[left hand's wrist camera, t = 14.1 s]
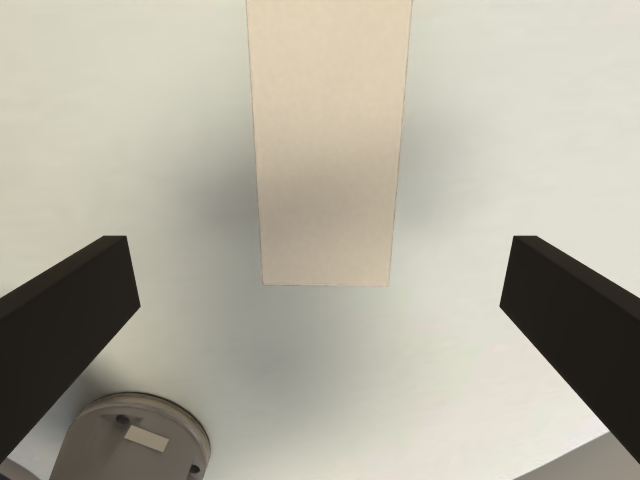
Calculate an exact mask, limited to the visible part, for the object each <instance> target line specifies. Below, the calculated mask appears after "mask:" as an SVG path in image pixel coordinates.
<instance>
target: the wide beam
mask: <svg viewBox="0 0 640 480" xmlns="http://www.w3.org/2000/svg"><path fill="white" fill-rule="evenodd" d="M412 1H413V0H246V10H247V27H248V43H249V60H250V77H251V94H252V111H253V127H254V144H255V161H256V178H257V194H258V211H259V228H260V245H261V262H262V278H263V285H305V286H389V277H390V265H391V253H392V241H393V229H394V217H395V205H396V193H397V181H398V169H399V157H400V145H401V133H402V121H403V109H404V97H405V85H406V73H407V61H408V49H409V37H410V25H411V13H412Z"/></svg>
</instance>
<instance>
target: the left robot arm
mask: <svg viewBox="0 0 640 480" xmlns="http://www.w3.org/2000/svg"><path fill="white" fill-rule="evenodd" d="M140 307H141V306H140V301H139V296H138V291H137V286H136V281H135V276H134V271H133V266H132V261H131V256H130V251H129V246H128V241H127V237H126V236H102V237H101V238H99V239H98V240H96V241H94V242H93V243H91V244H89V245H88V246H86V247H84V248H83V249H81V250H79V251H78V252H76V253H74V254H73V255H71V256H69V257H68V258H66V259H64V260H63V261H61V262H59V263H58V264H56V265H54V266H53V267H51V268H50V269H48V270H46V271H45V272H43V273H41V274H40V275H38V276H36V277H35V278H33V279H31V280H30V281H28V282H26V283H25V284H23V285H21V286H20V287H18V288H16V289H15V290H13V291H11V292H10V293H8V294H7V295H5V296H3V297H2V298H0V464H1V463H2V462H3V461H4V460H5V458H6V457H7V456H8V455H9V454H10V453H11V452H12V451H13V449H14V448H15V447H16V446H17V445H18V444H19V443H20V442H21V440H22V439H23V438H24V437H25V436H26V435H27V434H28V433H29V431H30V430H31V429H32V428H33V427H34V426H35V425H36V424H37V422H38V421H39V420H40V419H41V418H42V417H43V416H44V415H45V413H46V412H47V411H48V410H49V409H50V408H51V407H52V406H53V404H54V403H55V402H56V401H57V400H58V399H59V398H60V397H61V395H62V394H63V393H64V392H65V391H66V390H67V389H68V388H69V387H70V385H71V384H72V383H73V382H74V381H75V380H76V379H77V378H78V376H79V375H80V374H81V373H82V372H83V371H84V370H85V369H86V367H87V366H88V365H89V364H90V363H91V362H92V361H93V360H94V358H95V357H96V356H97V355H98V354H99V353H100V352H101V351H102V349H103V348H104V347H105V346H106V345H107V344H108V343H109V342H110V340H111V339H112V338H113V337H114V336H115V335H116V334H117V333H118V331H119V330H120V329H121V328H122V327H123V326H124V325H125V324H126V322H127V321H128V320H129V319H130V318H131V317H132V316H133V315H134V313H135V312H136V311H137V310H138V309H139V308H140ZM499 307H500V308H501V309H502V310H503V311H504V312H505V313H506V315H507V316H508V317H509V318H510V319H511V320H512V321H513V322H514V324H515V325H516V326H517V327H518V328H519V329H520V330H521V331H522V333H523V334H524V335H525V336H526V337H527V338H528V339H529V340H530V342H531V343H532V344H533V345H534V346H535V347H536V348H537V349H538V351H539V352H540V353H541V354H542V355H543V356H544V357H545V358H546V360H547V361H548V362H549V363H550V364H551V365H552V366H553V367H554V369H555V370H556V371H557V372H558V373H559V374H560V375H561V376H562V378H563V379H564V380H565V381H566V382H567V383H568V384H569V385H570V387H571V388H572V389H573V390H574V391H575V392H576V393H577V394H578V395H579V397H580V398H581V399H582V400H583V401H584V402H585V403H586V404H587V406H588V407H589V408H590V409H591V410H592V411H593V412H594V413H595V415H596V416H597V417H598V418H599V419H600V420H601V421H602V422H603V424H604V425H605V426H606V427H607V428H608V429H609V430H610V431H611V433H612V434H613V435H614V436H615V437H616V438H617V439H618V440H619V442H620V443H621V444H622V445H623V446H624V447H625V448H626V449H627V451H628V452H629V453H630V454H631V455H632V456H633V457H634V458H635V460H636V461H637V462H638V463H639V464H640V298H638V297H637V296H635V295H633V294H632V293H630V292H629V291H627V290H625V289H624V288H622V287H620V286H619V285H617V284H615V283H614V282H612V281H610V280H609V279H607V278H605V277H604V276H602V275H600V274H599V273H597V272H595V271H594V270H592V269H590V268H589V267H587V266H586V265H584V264H582V263H581V262H579V261H577V260H576V259H574V258H572V257H571V256H569V255H567V254H566V253H564V252H562V251H561V250H559V249H557V248H556V247H554V246H552V245H551V244H549V243H547V242H546V241H544V240H542V239H541V238H539V237H538V236H514V237H513V241H512V246H511V251H510V256H509V261H508V266H507V271H506V276H505V281H504V286H503V291H502V296H501V301H500V306H499ZM209 457H210V446H209V442H208V439H207V436H206V434H205V432H204V430H203V429H202V427H201V426H200V425H199V423H198V422H197V421H196V420H195V419H194V418H193V417H192V416H191V415H189V414H188V413H187V412H186V411H184V410H183V409H181V408H180V407H178V406H176V405H174V404H172V403H170V402H168V401H166V400H163V399H160V398H157V397H154V396H150V395H144V394H136V393H121V394H114V395H109V396H106V397H103V398H100V399H98V400H96V401H94V402H92V403H91V404H89V405H88V406H87V407H86V408H85V409H84V410H83V411H82V412H81V413H80V415H79V416H78V417H77V418H76V420H75V421H74V422H73V423H72V425H71V426H70V427H69V429H68V431H67V433H66V436H65V438H64V441H63V444H62V446H61V449H60V452H59V454H58V457H57V460H56V462H55V465H54V468H53V471H52V473H51V476H50V479H49V480H202V479H203V477H204V474H205V471H206V468H207V465H208V461H209Z"/></svg>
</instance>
